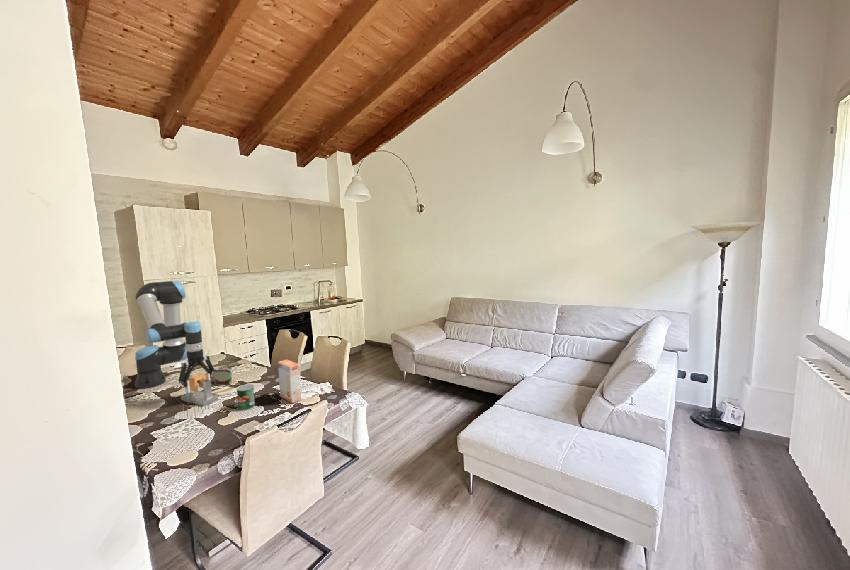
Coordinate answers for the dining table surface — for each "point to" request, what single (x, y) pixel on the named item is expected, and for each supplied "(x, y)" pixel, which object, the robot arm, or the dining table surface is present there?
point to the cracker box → (289, 381)
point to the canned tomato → (245, 397)
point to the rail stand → (200, 394)
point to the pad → (223, 391)
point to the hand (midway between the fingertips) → (198, 388)
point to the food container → (223, 375)
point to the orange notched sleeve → (194, 381)
